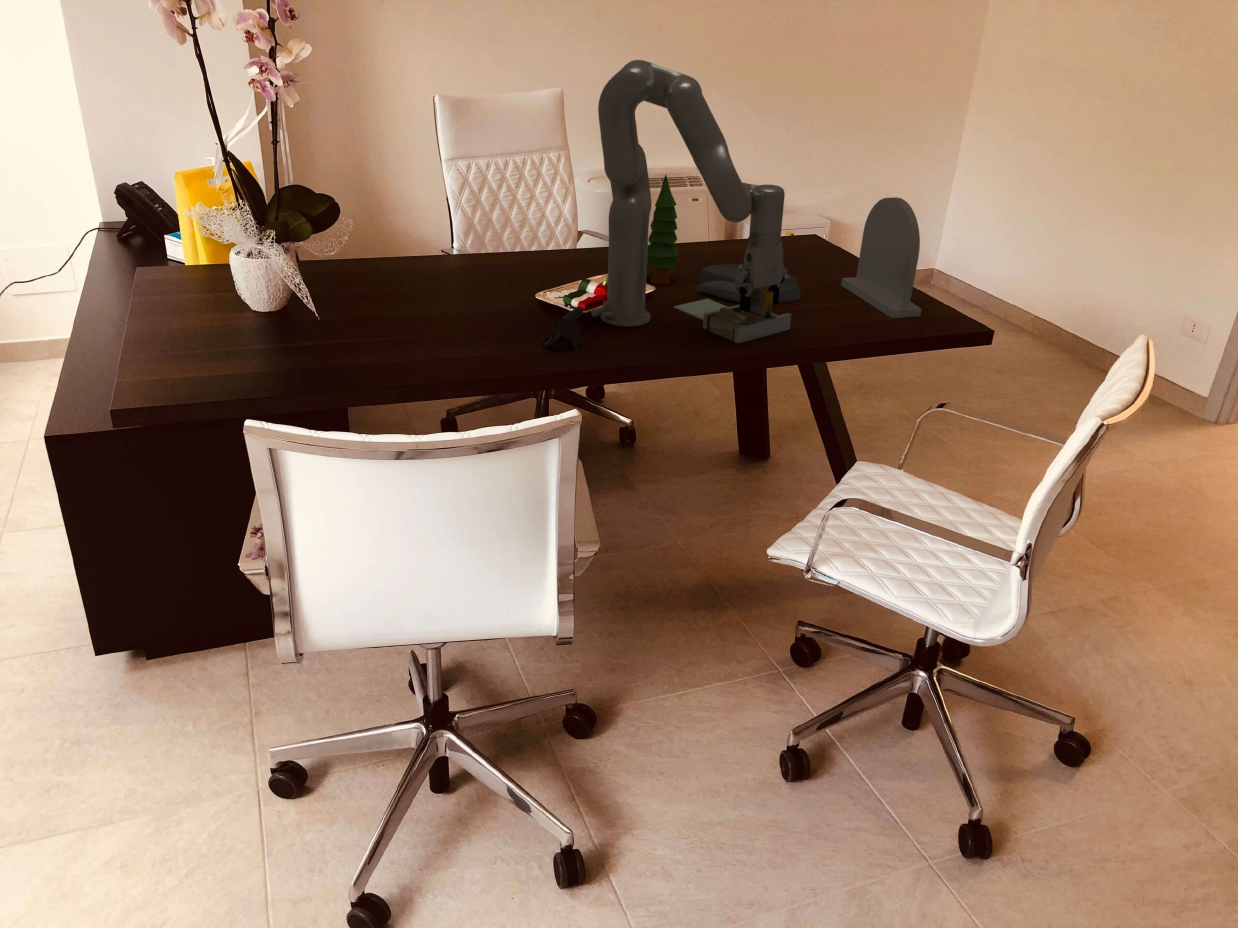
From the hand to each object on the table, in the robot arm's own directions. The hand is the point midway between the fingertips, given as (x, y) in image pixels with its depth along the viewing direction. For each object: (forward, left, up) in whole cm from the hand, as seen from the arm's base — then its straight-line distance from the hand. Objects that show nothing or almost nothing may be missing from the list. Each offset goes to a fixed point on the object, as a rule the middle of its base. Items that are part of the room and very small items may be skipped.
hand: (758, 307), depth 240 cm
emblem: (+19, +22, -6) cm, 30 cm away
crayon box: (0, 0, -6) cm, 6 cm away
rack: (-3, 0, -5) cm, 6 cm away
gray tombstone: (+44, -3, -6) cm, 45 cm away
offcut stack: (-10, 0, -5) cm, 11 cm away
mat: (-2, +16, -5) cm, 17 cm away
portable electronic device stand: (-48, +16, -6) cm, 50 cm away
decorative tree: (+4, +42, -5) cm, 43 cm away
